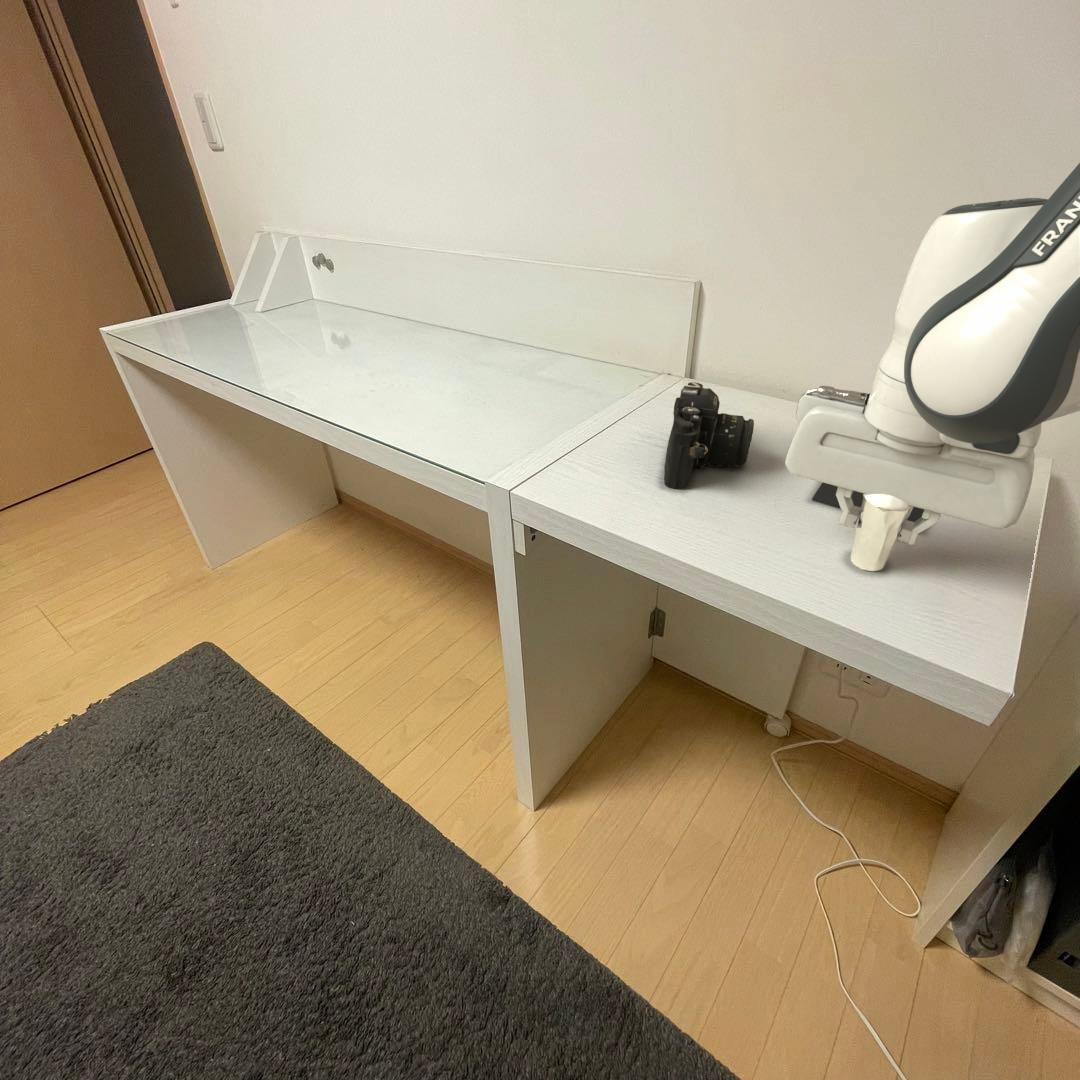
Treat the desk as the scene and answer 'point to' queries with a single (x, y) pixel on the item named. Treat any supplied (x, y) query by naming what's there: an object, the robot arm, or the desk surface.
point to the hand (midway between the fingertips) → (876, 532)
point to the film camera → (703, 436)
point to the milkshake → (878, 530)
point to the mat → (828, 497)
